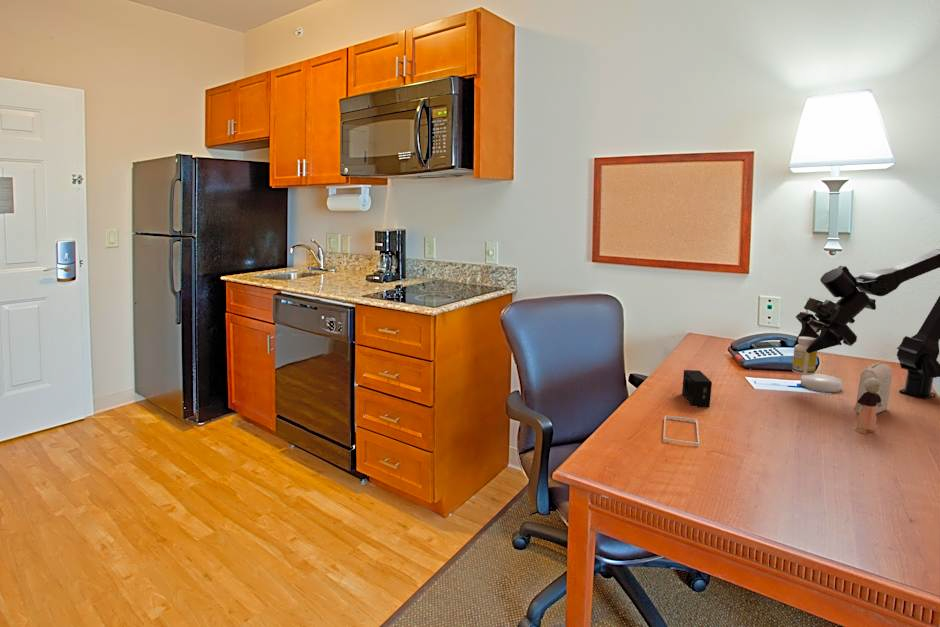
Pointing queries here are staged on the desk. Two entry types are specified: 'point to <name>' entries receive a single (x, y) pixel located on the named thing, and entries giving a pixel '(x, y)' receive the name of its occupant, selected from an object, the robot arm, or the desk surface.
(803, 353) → the supplement bottle
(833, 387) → the plinth
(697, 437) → the phone case
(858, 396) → the photo printer
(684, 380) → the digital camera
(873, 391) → the grandmother figurine
